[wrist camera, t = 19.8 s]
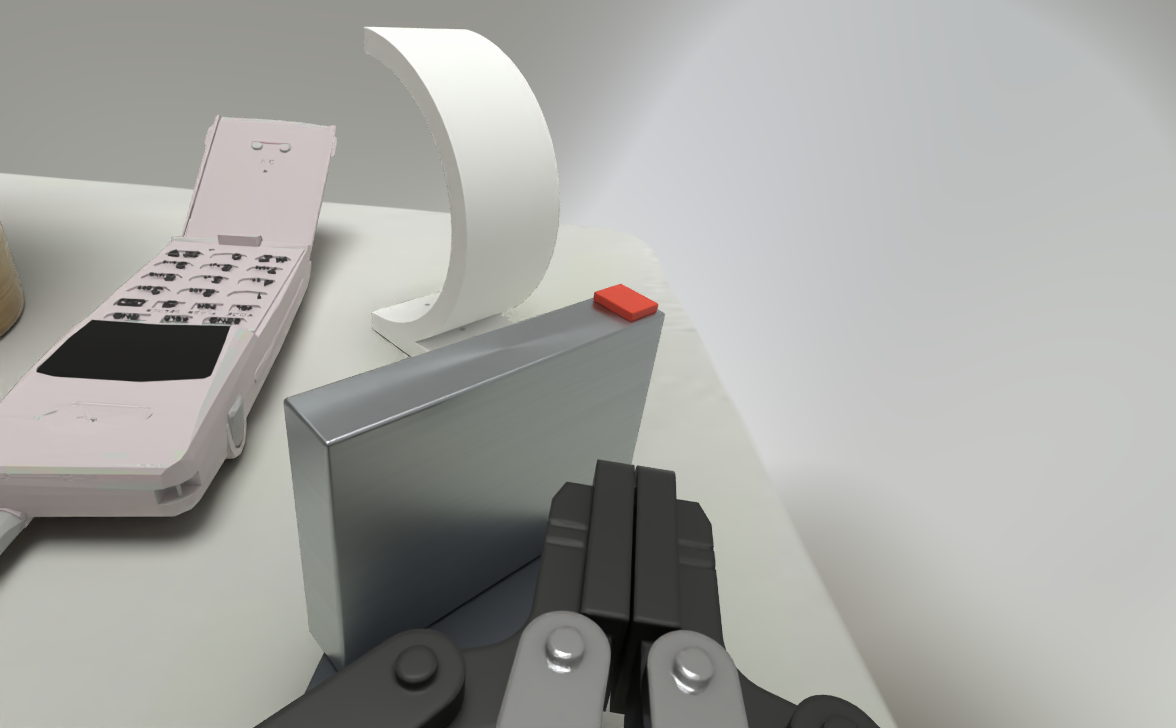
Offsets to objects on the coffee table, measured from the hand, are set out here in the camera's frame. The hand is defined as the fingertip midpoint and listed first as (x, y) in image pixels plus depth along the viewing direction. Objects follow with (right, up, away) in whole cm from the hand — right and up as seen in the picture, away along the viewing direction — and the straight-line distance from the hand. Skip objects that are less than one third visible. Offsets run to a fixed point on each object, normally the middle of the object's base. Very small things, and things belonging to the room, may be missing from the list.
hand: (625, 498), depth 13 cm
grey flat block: (-3, -3, +5) cm, 6 cm away
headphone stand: (-6, +3, +17) cm, 18 cm away
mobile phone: (-16, +3, +14) cm, 21 cm away
